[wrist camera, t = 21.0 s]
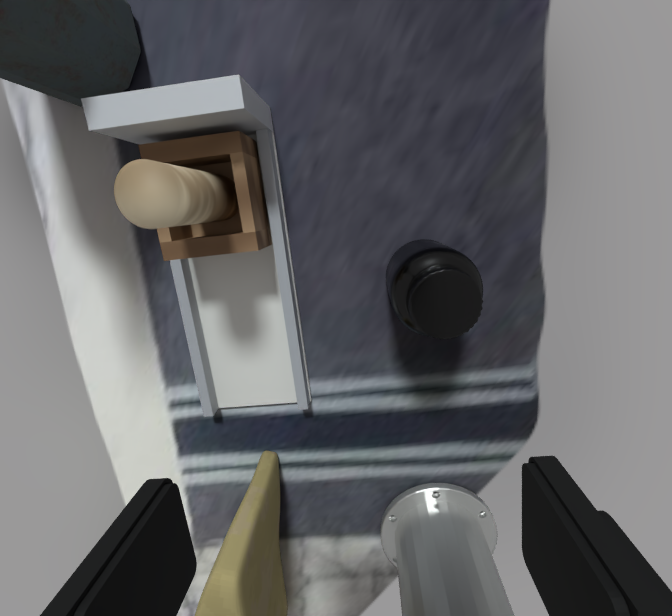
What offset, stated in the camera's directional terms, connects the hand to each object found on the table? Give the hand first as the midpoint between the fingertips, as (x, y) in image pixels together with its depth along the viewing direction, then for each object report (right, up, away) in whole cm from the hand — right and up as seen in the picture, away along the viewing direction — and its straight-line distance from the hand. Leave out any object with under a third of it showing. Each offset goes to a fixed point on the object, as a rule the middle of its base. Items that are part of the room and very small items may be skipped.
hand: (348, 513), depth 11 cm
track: (-10, +9, +28) cm, 31 cm away
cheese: (-9, -20, +36) cm, 42 cm away
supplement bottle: (+8, +9, +27) cm, 29 cm away
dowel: (-11, +15, +24) cm, 31 cm away
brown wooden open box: (-11, +15, +25) cm, 31 cm away
